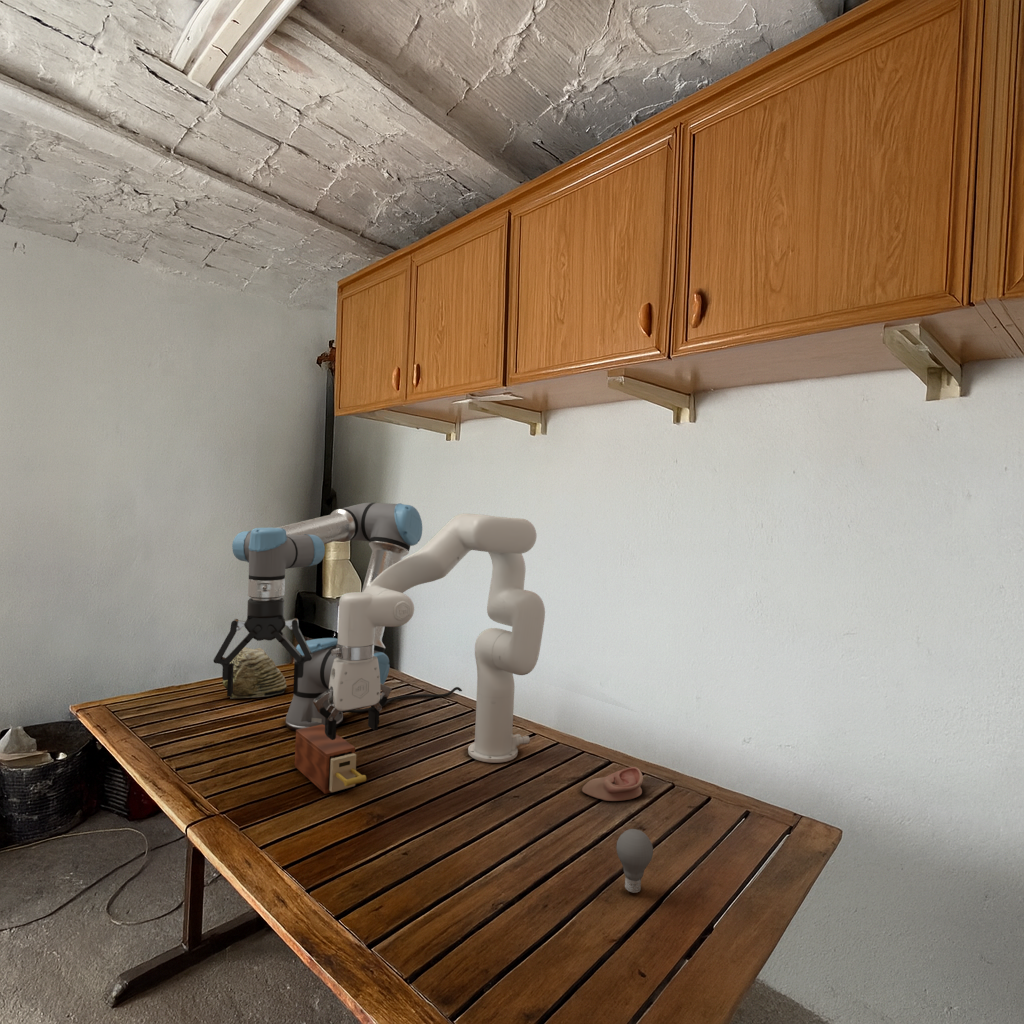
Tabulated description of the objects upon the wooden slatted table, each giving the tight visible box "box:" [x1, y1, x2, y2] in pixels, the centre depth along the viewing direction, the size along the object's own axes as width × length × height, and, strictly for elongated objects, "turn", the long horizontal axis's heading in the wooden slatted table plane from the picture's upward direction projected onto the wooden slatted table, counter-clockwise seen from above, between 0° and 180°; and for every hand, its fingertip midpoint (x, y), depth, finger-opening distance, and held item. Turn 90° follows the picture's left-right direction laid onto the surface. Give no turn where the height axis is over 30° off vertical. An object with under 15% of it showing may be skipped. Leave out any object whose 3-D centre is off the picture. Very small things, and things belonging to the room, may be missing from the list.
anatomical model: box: [581, 766, 644, 802], centre depth 142 cm, size 13×4×12 cm
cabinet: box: [294, 724, 356, 795], centre depth 144 cm, size 17×7×9 cm, turn 40°
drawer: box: [329, 752, 367, 793], centre depth 140 cm, size 22×5×7 cm, turn 40°
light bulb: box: [615, 828, 654, 894], centre depth 106 cm, size 6×6×10 cm
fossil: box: [222, 646, 288, 699], centre depth 198 cm, size 9×18×15 cm, turn 132°
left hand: (263, 693), depth 140 cm, fingers open, 13 cm apart
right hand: (352, 732), depth 133 cm, fingers open, 9 cm apart
